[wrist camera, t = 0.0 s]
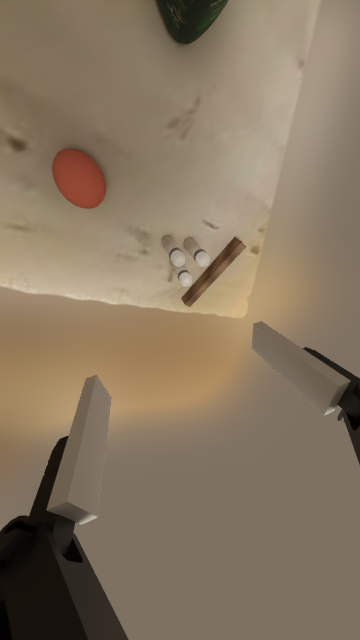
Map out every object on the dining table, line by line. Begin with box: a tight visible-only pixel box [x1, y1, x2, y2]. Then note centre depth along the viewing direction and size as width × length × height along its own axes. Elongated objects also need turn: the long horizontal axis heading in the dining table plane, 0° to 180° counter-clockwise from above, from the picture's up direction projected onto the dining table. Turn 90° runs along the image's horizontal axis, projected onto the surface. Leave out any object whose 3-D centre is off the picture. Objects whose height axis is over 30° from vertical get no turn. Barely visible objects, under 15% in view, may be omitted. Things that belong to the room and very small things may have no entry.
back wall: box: [182, 237, 246, 307], centre depth 42 cm, size 20×2×3 cm, turn 139°
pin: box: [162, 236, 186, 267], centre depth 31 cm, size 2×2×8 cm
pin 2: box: [184, 237, 211, 267], centre depth 33 cm, size 2×2×8 cm
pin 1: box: [170, 260, 193, 287], centre depth 35 cm, size 2×2×8 cm
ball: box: [52, 149, 105, 209], centre depth 22 cm, size 6×6×6 cm
